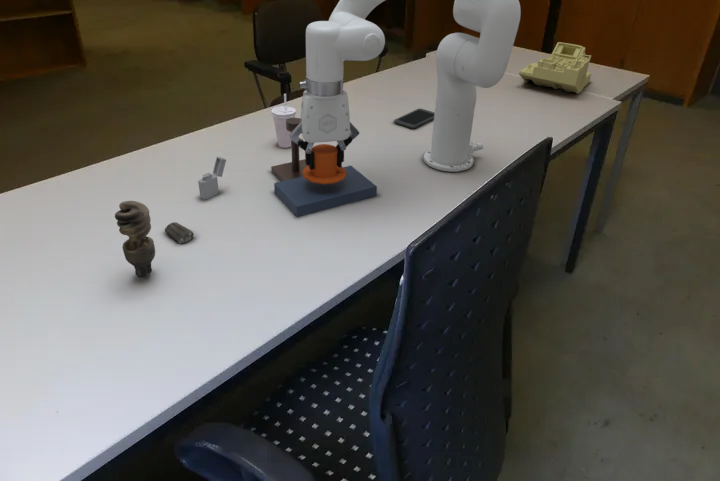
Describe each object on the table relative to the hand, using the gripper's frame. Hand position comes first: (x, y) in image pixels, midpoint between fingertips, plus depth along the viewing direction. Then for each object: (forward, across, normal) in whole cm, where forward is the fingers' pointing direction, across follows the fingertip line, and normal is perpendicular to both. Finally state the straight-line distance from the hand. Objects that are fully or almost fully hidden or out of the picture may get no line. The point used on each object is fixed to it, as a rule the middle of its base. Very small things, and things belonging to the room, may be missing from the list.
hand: (324, 165), depth 128 cm
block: (+8, -32, -11) cm, 35 cm away
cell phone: (+7, +36, +39) cm, 54 cm away
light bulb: (+8, -38, -23) cm, 45 cm away
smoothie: (+8, -4, +29) cm, 30 cm away
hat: (+2, 0, 0) cm, 2 cm away
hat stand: (+7, -5, +11) cm, 14 cm away
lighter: (+8, -24, +6) cm, 26 cm away
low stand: (+7, 0, 0) cm, 7 cm away
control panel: (+7, +95, +60) cm, 112 cm away
